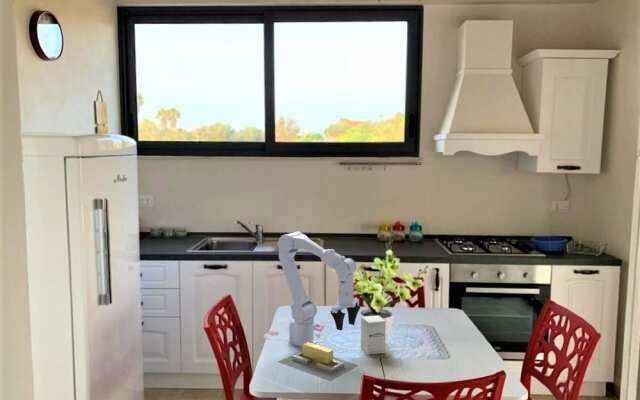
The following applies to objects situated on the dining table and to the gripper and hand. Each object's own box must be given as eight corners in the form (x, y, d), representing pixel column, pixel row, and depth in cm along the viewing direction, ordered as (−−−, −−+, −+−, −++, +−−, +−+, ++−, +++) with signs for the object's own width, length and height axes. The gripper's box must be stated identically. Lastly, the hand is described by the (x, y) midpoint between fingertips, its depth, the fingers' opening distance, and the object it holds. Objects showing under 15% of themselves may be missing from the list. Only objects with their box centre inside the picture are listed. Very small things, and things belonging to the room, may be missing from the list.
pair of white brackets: (292, 359, 186) (292, 355, 186) (305, 353, 192) (305, 349, 191) (331, 373, 175) (331, 369, 174) (344, 366, 180) (344, 362, 180)
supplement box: (367, 355, 191) (367, 322, 190) (360, 348, 198) (360, 316, 197) (385, 353, 193) (386, 320, 192) (378, 346, 200) (378, 314, 199)
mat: (278, 362, 185) (278, 361, 185) (307, 349, 197) (307, 348, 197) (330, 382, 169) (330, 380, 169) (358, 366, 182) (358, 365, 182)
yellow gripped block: (302, 360, 186) (302, 344, 185) (307, 357, 188) (307, 341, 187) (328, 369, 178) (328, 352, 178) (333, 366, 180) (333, 350, 180)
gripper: (342, 297, 184) (342, 334, 185) (365, 289, 195) (365, 324, 196) (327, 294, 188) (327, 330, 189) (350, 286, 199) (350, 320, 200)
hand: (345, 326), depth 193 cm, fingers open, 7 cm apart
